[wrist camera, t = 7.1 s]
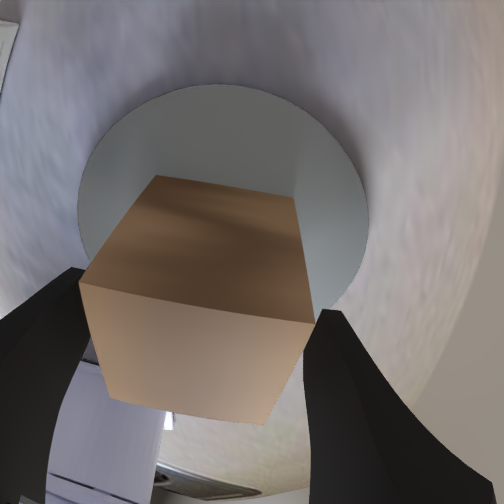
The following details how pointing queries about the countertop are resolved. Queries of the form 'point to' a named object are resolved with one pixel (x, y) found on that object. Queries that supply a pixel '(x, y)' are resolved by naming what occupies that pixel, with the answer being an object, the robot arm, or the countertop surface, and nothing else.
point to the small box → (6, 44)
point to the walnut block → (200, 300)
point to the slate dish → (235, 171)
